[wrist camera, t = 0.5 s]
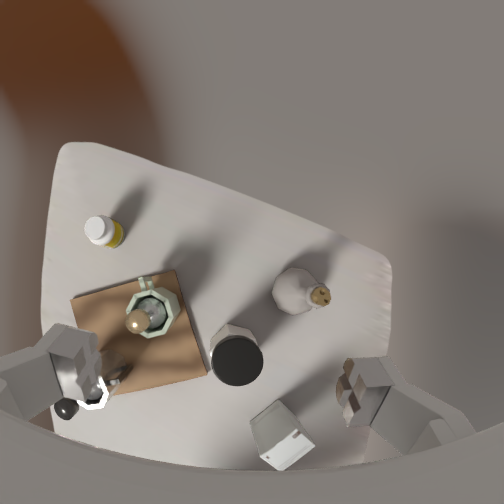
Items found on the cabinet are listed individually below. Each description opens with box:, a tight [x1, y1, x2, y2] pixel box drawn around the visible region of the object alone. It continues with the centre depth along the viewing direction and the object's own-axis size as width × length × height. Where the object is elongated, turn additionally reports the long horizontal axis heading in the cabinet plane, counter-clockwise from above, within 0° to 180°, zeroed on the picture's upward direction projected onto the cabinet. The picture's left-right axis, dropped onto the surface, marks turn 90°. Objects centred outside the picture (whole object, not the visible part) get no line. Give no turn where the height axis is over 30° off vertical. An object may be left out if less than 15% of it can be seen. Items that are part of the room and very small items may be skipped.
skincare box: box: [250, 399, 315, 471], centre depth 49 cm, size 8×6×15 cm
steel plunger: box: [54, 379, 103, 420], centre depth 36 cm, size 5×5×11 cm
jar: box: [210, 324, 263, 386], centre depth 51 cm, size 9×8×12 cm
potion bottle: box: [272, 268, 331, 315], centre depth 50 cm, size 9×9×18 cm
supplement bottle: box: [85, 215, 125, 249], centre depth 51 cm, size 5×5×10 cm
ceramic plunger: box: [125, 298, 166, 334], centre depth 41 cm, size 5×5×10 cm
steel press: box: [78, 349, 133, 409], centre depth 46 cm, size 7×10×13 cm
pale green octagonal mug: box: [126, 277, 181, 338], centre depth 49 cm, size 10×7×10 cm
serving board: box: [70, 270, 207, 395], centre depth 54 cm, size 21×23×1 cm
